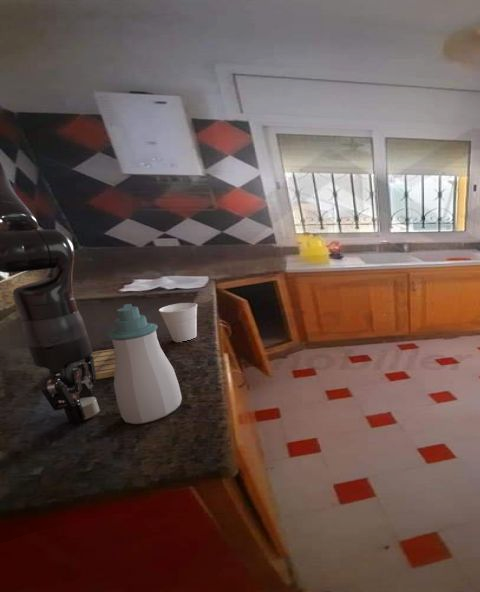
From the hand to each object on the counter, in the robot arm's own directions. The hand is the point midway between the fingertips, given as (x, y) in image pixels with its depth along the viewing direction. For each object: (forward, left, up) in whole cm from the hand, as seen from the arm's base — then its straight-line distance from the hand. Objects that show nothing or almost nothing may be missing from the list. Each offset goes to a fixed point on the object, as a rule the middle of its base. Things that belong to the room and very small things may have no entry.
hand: (83, 413), depth 64 cm
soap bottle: (+12, -4, -1) cm, 13 cm away
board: (-4, +27, -1) cm, 27 cm away
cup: (+11, +39, -1) cm, 41 cm away
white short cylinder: (0, 0, 0) cm, 0 cm away
